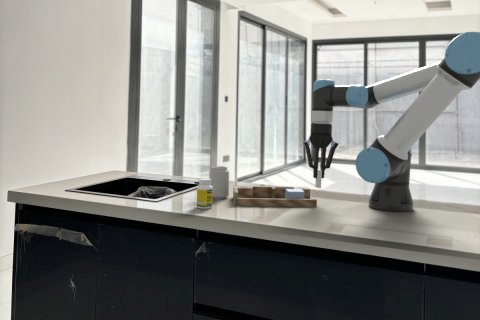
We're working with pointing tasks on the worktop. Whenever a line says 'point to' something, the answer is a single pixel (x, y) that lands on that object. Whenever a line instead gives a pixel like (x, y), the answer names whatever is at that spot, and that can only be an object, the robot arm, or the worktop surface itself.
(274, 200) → the box
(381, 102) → the robot arm
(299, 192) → the block
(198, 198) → the supplement bottle
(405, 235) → the worktop surface
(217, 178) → the can
